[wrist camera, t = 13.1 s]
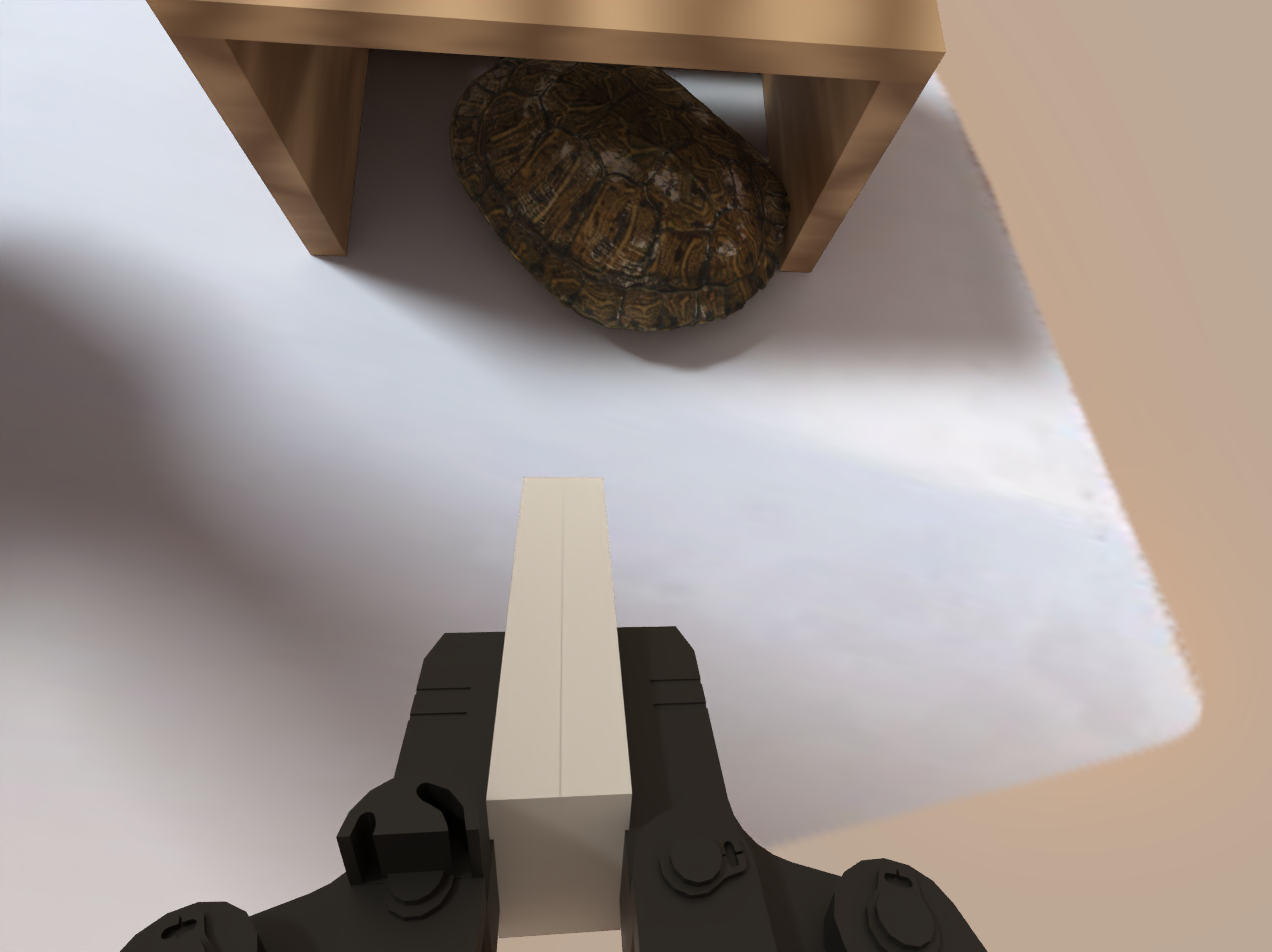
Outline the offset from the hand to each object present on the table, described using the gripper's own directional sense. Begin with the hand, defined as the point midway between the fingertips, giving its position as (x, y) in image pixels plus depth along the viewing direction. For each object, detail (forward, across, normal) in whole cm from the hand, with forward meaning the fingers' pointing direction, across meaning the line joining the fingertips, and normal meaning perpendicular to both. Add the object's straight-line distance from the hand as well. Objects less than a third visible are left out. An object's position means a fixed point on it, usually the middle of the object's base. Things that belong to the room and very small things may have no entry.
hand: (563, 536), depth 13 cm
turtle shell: (+33, +4, +1) cm, 33 cm away
